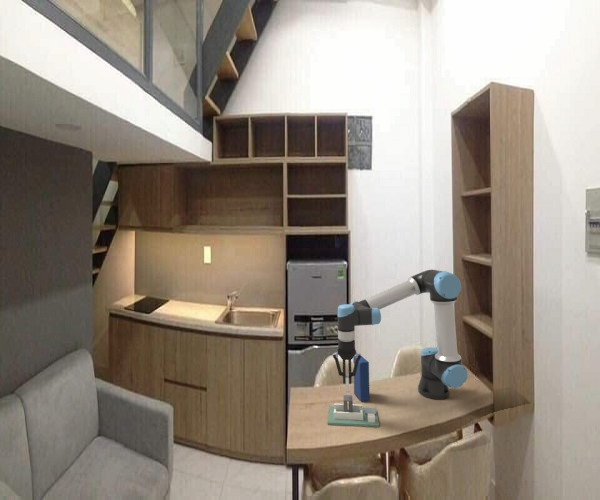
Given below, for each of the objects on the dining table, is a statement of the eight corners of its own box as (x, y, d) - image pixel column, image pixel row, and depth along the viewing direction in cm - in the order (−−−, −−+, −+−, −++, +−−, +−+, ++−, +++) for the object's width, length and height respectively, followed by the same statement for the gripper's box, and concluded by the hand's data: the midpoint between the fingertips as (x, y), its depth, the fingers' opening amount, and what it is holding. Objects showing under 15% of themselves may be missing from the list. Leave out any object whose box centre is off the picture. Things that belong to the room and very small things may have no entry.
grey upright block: (352, 412, 154) (352, 395, 153) (352, 419, 148) (352, 401, 147) (344, 411, 154) (343, 395, 154) (343, 419, 148) (343, 401, 148)
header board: (376, 410, 157) (375, 401, 157) (379, 427, 143) (378, 418, 143) (329, 408, 160) (329, 400, 160) (327, 424, 146) (327, 415, 146)
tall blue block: (370, 401, 165) (369, 361, 165) (360, 402, 164) (360, 362, 163) (362, 392, 175) (361, 355, 174) (353, 393, 173) (352, 356, 173)
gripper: (360, 336, 153) (361, 387, 154) (332, 336, 155) (333, 386, 156) (361, 342, 145) (362, 394, 146) (331, 341, 147) (332, 393, 148)
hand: (347, 390), depth 151 cm, fingers closed
